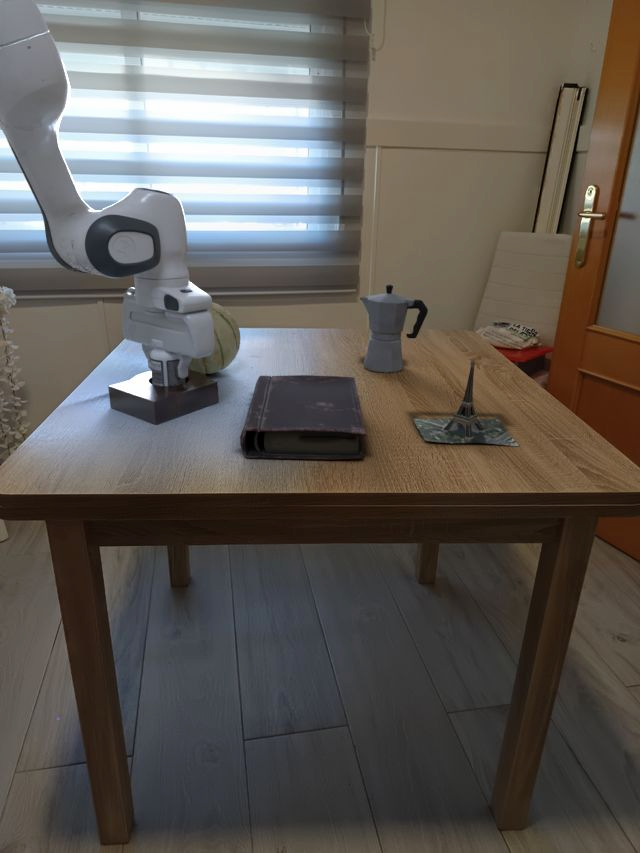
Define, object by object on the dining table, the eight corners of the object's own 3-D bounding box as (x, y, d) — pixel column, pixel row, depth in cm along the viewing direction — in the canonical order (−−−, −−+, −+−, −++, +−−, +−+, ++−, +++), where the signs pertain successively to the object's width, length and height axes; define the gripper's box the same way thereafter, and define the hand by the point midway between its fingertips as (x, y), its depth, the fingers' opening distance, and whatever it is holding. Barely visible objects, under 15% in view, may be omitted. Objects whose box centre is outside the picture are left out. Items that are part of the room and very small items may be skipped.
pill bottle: (186, 387, 105) (183, 333, 102) (185, 397, 100) (182, 341, 96) (154, 387, 104) (150, 334, 101) (151, 398, 99) (146, 342, 96)
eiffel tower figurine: (498, 421, 99) (510, 346, 94) (519, 446, 90) (534, 363, 84) (412, 420, 98) (419, 344, 93) (424, 445, 89) (434, 361, 84)
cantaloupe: (235, 361, 128) (234, 293, 122) (246, 381, 115) (244, 306, 109) (167, 364, 124) (162, 294, 118) (170, 385, 111) (164, 307, 105)
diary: (239, 459, 82) (239, 426, 80) (255, 399, 105) (255, 373, 103) (369, 462, 82) (372, 430, 80) (357, 402, 105) (358, 376, 104)
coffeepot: (347, 367, 126) (351, 284, 119) (364, 357, 134) (370, 279, 127) (413, 379, 120) (422, 292, 113) (428, 368, 127) (437, 286, 120)
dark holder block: (155, 425, 92) (154, 401, 91) (104, 405, 100) (102, 383, 98) (225, 400, 104) (224, 379, 103) (174, 384, 112) (173, 364, 110)
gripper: (108, 287, 99) (116, 365, 104) (189, 304, 88) (194, 389, 93) (138, 284, 104) (144, 358, 109) (219, 299, 93) (222, 380, 98)
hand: (168, 372), depth 101 cm, fingers closed on pill bottle, 6 cm apart
